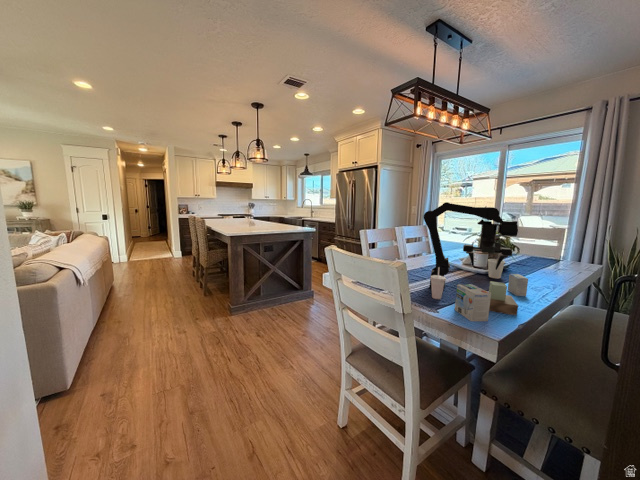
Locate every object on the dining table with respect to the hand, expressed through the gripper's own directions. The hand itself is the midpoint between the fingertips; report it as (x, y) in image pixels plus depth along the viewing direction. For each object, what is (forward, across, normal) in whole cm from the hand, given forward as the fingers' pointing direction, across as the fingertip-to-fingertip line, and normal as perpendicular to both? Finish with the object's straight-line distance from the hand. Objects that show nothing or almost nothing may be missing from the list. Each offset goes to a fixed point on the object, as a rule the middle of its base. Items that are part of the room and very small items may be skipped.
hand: (484, 268), depth 120 cm
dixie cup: (+13, +9, +39) cm, 42 cm away
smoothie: (+13, -18, -16) cm, 27 cm away
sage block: (+9, +4, -15) cm, 18 cm away
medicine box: (+13, +15, +11) cm, 23 cm away
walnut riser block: (+13, +4, -15) cm, 20 cm away
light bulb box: (+13, -5, -29) cm, 32 cm away
